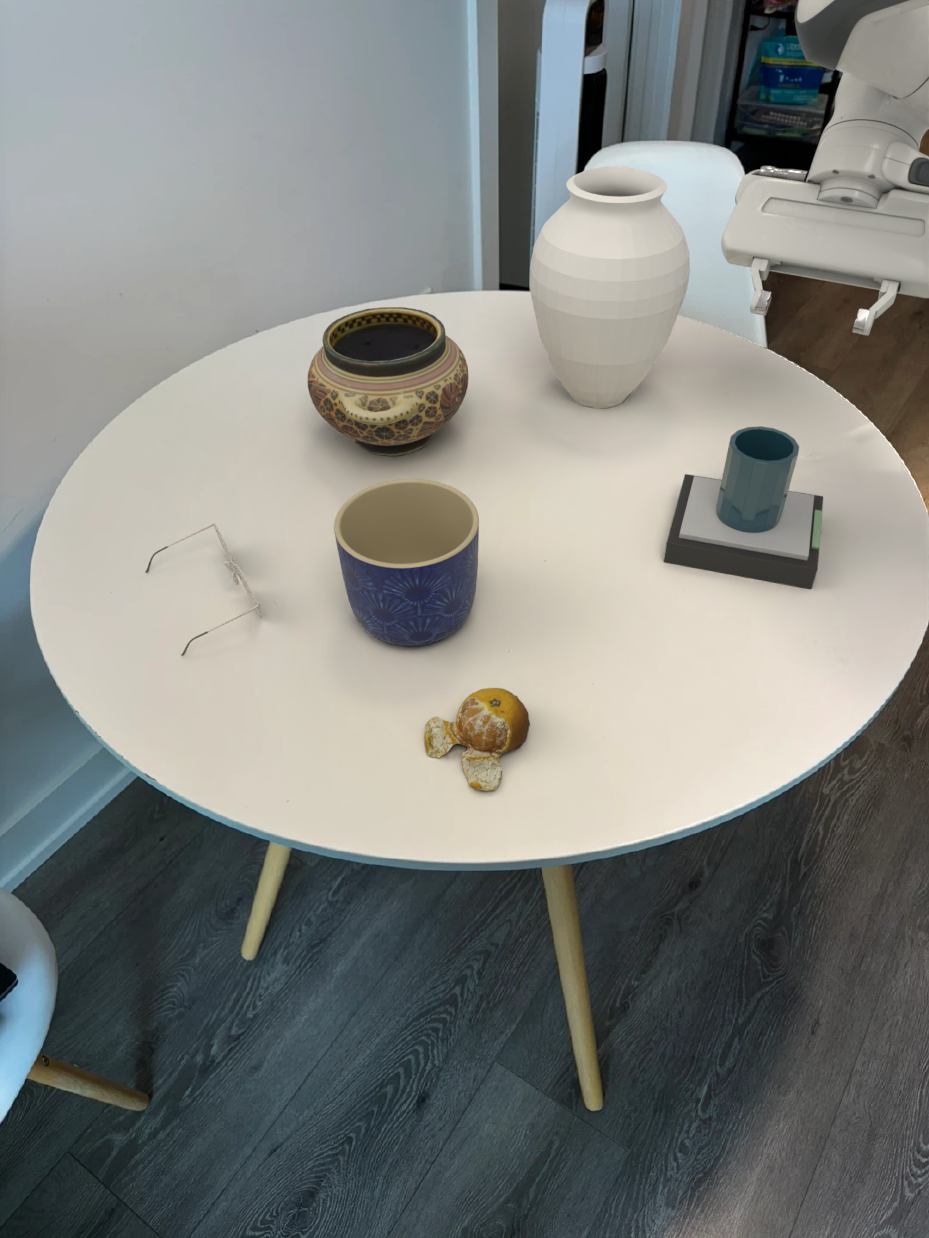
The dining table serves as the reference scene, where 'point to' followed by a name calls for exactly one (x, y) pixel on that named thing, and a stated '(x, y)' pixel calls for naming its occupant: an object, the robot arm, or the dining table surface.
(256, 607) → the eyeglasses
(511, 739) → the fruit
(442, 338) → the ceramic bowl
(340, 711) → the dining table surface
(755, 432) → the cup
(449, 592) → the planter
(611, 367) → the vase
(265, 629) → the dining table surface
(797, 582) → the scale
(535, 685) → the dining table surface
